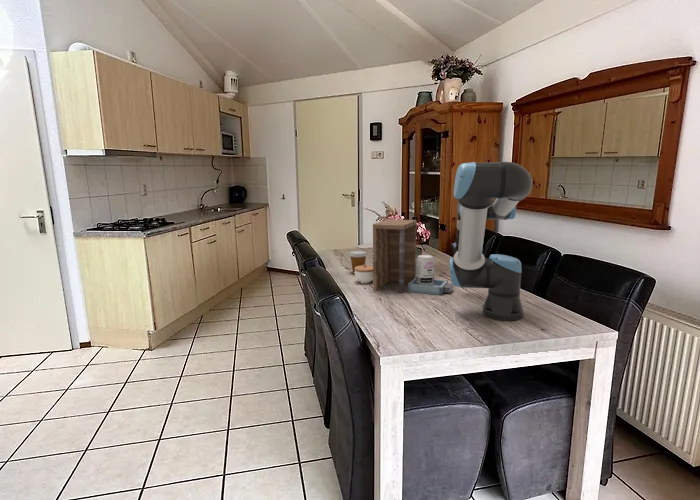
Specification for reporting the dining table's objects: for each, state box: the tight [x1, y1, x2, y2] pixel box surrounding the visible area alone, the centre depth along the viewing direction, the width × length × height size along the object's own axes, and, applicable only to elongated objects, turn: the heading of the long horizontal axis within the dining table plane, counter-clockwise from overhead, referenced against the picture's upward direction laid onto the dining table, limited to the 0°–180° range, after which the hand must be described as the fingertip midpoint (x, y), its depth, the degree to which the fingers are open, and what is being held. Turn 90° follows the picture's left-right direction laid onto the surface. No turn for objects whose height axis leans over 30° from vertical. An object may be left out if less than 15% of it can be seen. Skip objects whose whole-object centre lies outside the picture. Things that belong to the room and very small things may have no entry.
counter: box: [372, 218, 417, 294], centre depth 199 cm, size 20×15×32 cm
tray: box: [407, 278, 454, 296], centre depth 194 cm, size 13×19×4 cm
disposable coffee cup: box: [349, 250, 368, 273], centre depth 229 cm, size 10×10×12 cm
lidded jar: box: [354, 263, 373, 284], centre depth 210 cm, size 11×11×9 cm
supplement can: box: [416, 254, 435, 286], centre depth 194 cm, size 8×8×15 cm
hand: (463, 280), depth 187 cm, fingers closed
